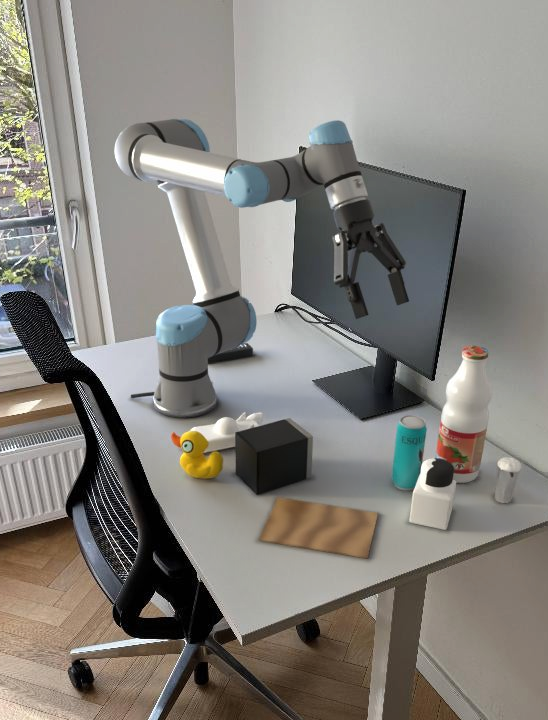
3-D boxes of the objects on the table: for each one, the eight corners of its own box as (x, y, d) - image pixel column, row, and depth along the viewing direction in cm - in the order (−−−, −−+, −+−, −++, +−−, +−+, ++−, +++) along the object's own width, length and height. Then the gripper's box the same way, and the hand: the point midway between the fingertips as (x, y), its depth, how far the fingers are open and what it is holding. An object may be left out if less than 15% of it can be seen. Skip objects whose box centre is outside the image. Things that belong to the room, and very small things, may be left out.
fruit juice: (487, 480, 158) (510, 356, 144) (447, 487, 155) (467, 362, 141) (464, 457, 166) (483, 338, 151) (425, 464, 163) (442, 343, 149)
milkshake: (514, 509, 149) (523, 466, 144) (487, 500, 151) (495, 458, 146) (521, 498, 152) (530, 456, 147) (495, 490, 155) (503, 448, 150)
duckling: (167, 475, 156) (164, 433, 151) (179, 463, 161) (177, 422, 156) (216, 487, 153) (215, 445, 148) (228, 474, 157) (227, 433, 152)
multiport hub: (253, 355, 211) (253, 348, 210) (204, 364, 205) (204, 356, 204) (247, 350, 214) (247, 342, 213) (199, 358, 209) (198, 350, 208)
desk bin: (288, 458, 164) (289, 417, 159) (311, 477, 157) (313, 436, 152) (235, 474, 158) (235, 432, 153) (256, 495, 151) (256, 452, 146)
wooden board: (259, 540, 138) (259, 538, 138) (277, 499, 150) (277, 497, 150) (367, 558, 134) (367, 556, 134) (377, 514, 146) (378, 512, 146)
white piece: (176, 437, 170) (174, 414, 167) (259, 424, 177) (259, 401, 174) (187, 460, 162) (186, 436, 159) (275, 445, 168) (275, 422, 165)
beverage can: (418, 494, 153) (426, 429, 145) (389, 490, 154) (397, 425, 146) (419, 479, 158) (428, 415, 150) (392, 475, 158) (399, 412, 151)
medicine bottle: (451, 510, 148) (460, 458, 142) (446, 531, 142) (454, 477, 136) (415, 503, 150) (422, 451, 144) (408, 523, 144) (415, 469, 138)
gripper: (322, 204, 135) (358, 318, 138) (402, 191, 152) (433, 293, 155) (294, 218, 141) (329, 328, 144) (374, 205, 158) (404, 303, 160)
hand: (383, 310), depth 149 cm, fingers open, 13 cm apart
